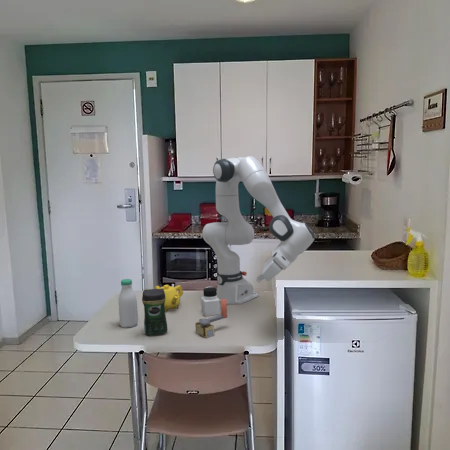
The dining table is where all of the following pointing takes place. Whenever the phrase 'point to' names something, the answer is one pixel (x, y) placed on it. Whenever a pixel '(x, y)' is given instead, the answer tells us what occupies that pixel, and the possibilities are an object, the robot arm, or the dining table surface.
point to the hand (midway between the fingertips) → (257, 280)
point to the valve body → (204, 330)
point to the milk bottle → (127, 305)
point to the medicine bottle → (210, 302)
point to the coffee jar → (154, 312)
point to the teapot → (171, 296)
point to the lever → (216, 318)
